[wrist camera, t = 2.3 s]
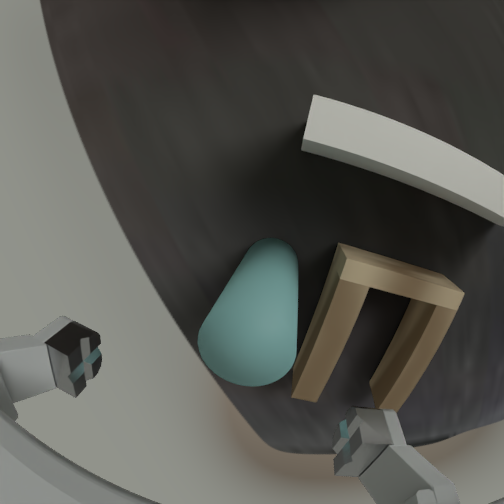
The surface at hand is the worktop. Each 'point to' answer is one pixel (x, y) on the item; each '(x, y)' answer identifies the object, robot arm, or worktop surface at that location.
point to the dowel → (255, 318)
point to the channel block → (347, 310)
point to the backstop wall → (403, 156)
